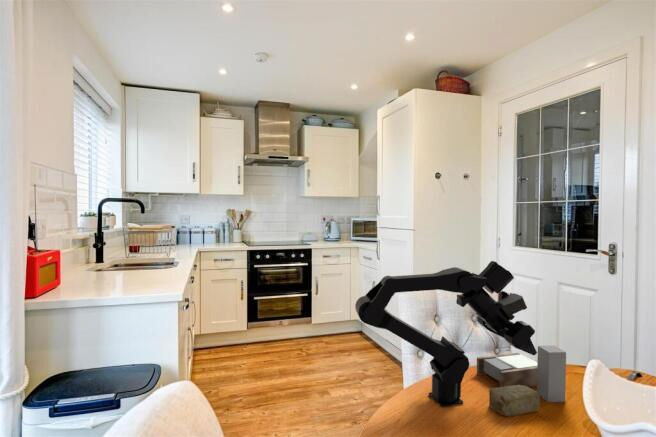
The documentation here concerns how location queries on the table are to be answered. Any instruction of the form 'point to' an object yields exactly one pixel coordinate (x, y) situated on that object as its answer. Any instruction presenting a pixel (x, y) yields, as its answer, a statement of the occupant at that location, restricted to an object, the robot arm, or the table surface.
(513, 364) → the trapdoor flap
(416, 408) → the table surface
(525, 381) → the frame
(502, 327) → the robot arm
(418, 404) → the table surface
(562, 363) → the granite pillar
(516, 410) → the stone block
